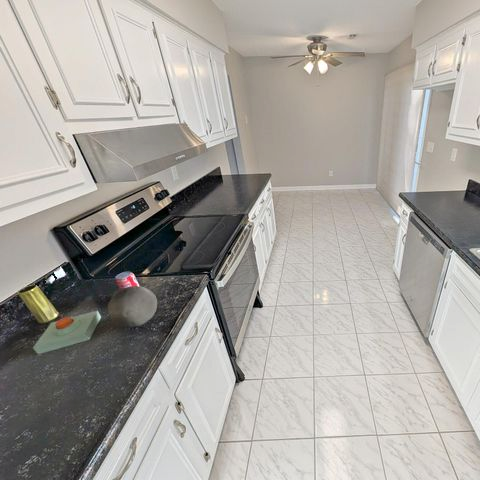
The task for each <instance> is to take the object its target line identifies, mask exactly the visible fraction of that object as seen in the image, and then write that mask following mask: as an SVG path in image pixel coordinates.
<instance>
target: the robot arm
mask: <svg viewBox="0 0 480 480" xmlns="http://www.w3.org/2000/svg"><path fill="white" fill-rule="evenodd" d="M54 274H55V276H56V277H57V279H56V280H58V279H62V278H65V277H66V276H67V274H66V272H65V270H64V269H63V268H62V267H61V266H60V268H58V269H57V270H56V271H54ZM45 281H46V283H45V284H46V285H48V286H49V285H51V284H53V282H54V281H55V278H54V276H53V275H51V276H50V277H49V278H48V279H47V280H45Z"/></svg>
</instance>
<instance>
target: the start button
mask: <svg viewBox="0 0 480 480" xmlns="http://www.w3.org/2000/svg"><path fill="white" fill-rule="evenodd" d="M70 317H71V316H65V317H63V318H60V319H58V320H56V321H57V322H56V321H55V322H56V323H55V325H56V327H57V328H58V329H62V328H65V327H67V326H69V325H70V324H72V322H73V321H72V319H71V318H70Z"/></svg>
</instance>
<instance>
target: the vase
mask: <svg viewBox="0 0 480 480" xmlns="http://www.w3.org/2000/svg"><path fill="white" fill-rule="evenodd" d="M17 293H18V295H19V296H18V297H20V299H21V301H23V303H24V304H25V306H26V307H27V309H28V310H29V311H30V312H31V314H32V315H33V317H34V318H35V319H36V321H37V323H38V324H45V323H48V322H51V321H53V320H55V319H56V318H57V317H58V316H59V313H60V312H59V311H58V310H57V309H56V308H55V306H54V305H53V304H52V302H51V301H50V300H49V298H47V296H46V295H45V294H44V293H43V290H41V288H40V287H39V286H37V285H35V284H34V285H29V286H26V287H23V288H21V289H20V290H18V292H17Z"/></svg>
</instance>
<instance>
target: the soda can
mask: <svg viewBox="0 0 480 480" xmlns="http://www.w3.org/2000/svg"><path fill="white" fill-rule="evenodd" d="M114 279H115V283H116V285H117V287H118V289H119V291H120V290H122V289H124V288H126V287H131V286H140V284H139V282H138V280H137V278H136V276H135V274H134V273H133V272H131V271H122V272H121V273H119V274H117V275H116V276H115V278H114Z"/></svg>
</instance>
